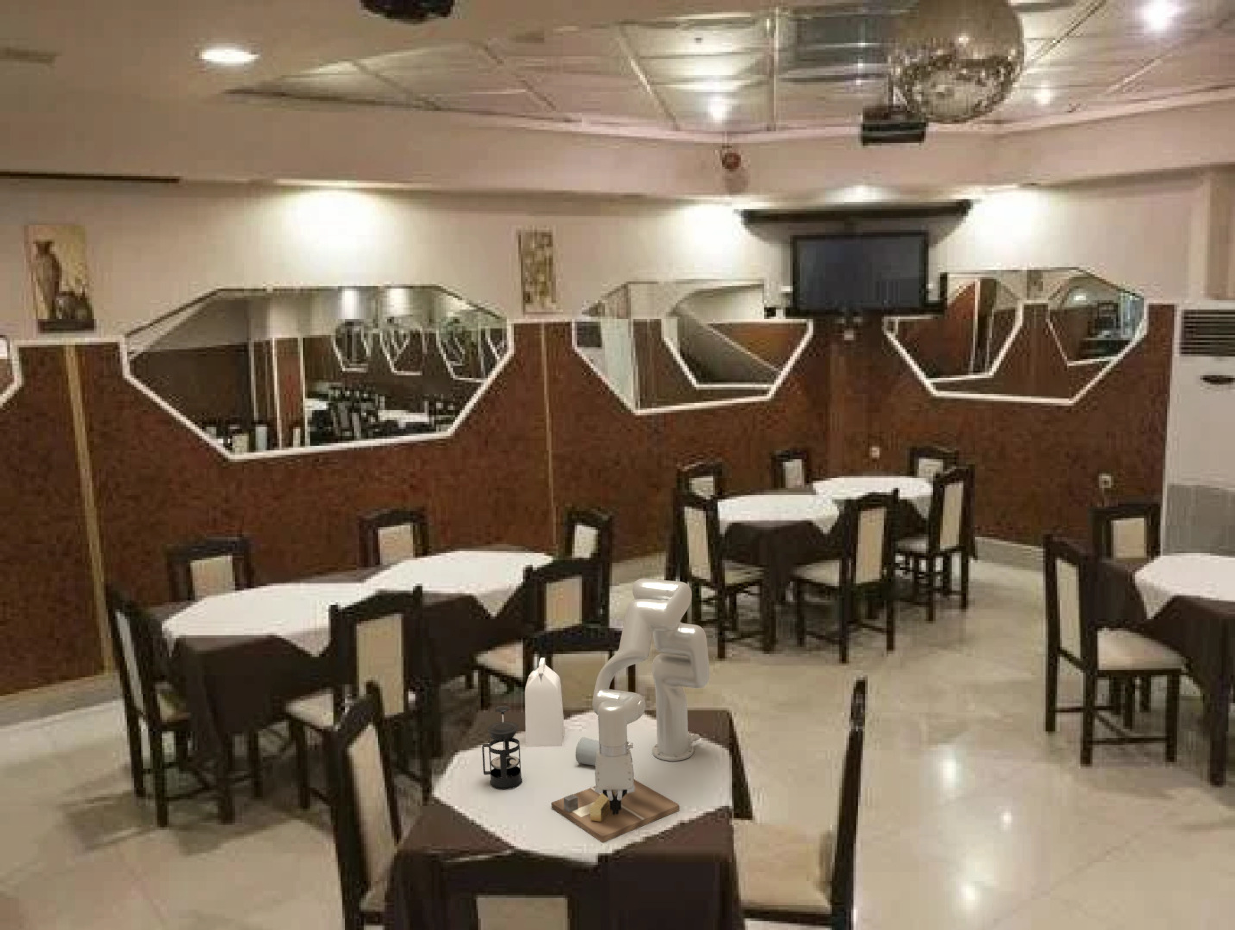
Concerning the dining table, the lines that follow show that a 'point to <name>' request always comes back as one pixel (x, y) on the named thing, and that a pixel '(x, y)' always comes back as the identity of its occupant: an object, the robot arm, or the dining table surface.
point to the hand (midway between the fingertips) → (615, 811)
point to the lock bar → (601, 807)
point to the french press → (503, 754)
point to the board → (632, 815)
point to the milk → (543, 708)
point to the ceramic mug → (587, 751)
